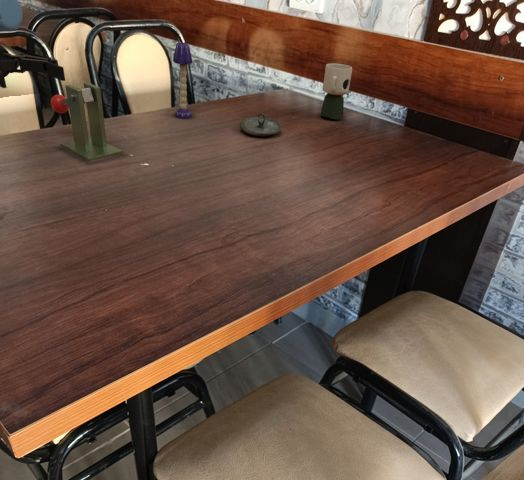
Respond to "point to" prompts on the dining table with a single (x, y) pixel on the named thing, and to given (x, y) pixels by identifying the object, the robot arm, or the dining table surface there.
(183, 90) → the toy lamp
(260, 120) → the lid
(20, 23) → the robot arm
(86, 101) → the lever
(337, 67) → the character mug
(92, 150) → the stand
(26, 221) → the dining table surface
